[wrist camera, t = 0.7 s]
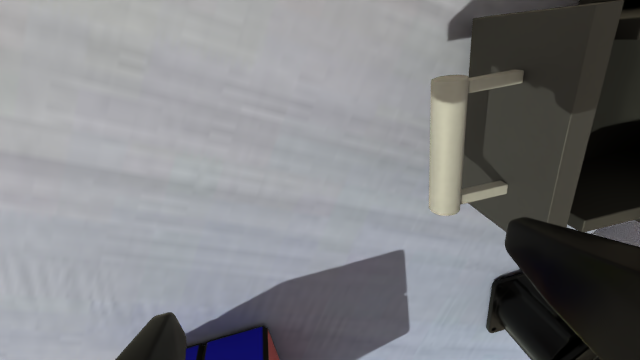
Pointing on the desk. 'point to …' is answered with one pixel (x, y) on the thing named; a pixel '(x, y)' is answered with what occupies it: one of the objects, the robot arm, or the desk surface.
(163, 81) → the desk surface
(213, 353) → the puzzle cube
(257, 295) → the desk surface
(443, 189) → the drawer
